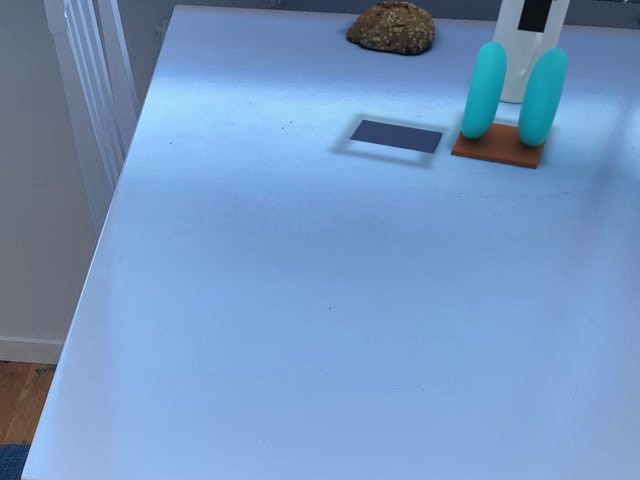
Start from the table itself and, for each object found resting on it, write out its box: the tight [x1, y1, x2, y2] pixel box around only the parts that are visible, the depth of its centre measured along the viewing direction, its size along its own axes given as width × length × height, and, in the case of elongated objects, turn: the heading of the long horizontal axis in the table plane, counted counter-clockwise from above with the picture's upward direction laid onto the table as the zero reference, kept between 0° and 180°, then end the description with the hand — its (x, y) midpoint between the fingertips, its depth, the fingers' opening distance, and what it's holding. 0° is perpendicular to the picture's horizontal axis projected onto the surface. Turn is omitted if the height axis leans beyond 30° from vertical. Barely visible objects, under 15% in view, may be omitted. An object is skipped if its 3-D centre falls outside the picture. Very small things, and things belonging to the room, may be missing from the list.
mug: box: [492, 0, 571, 104], centre depth 121 cm, size 12×8×12 cm
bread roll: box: [345, 0, 436, 55], centre depth 138 cm, size 13×12×5 cm
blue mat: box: [349, 119, 443, 154], centre depth 113 cm, size 10×12×1 cm
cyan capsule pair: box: [460, 40, 569, 147], centre depth 110 cm, size 10×10×10 cm
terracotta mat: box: [450, 122, 547, 170], centre depth 114 cm, size 10×11×1 cm
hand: (537, 14), depth 104 cm, fingers open, 13 cm apart
